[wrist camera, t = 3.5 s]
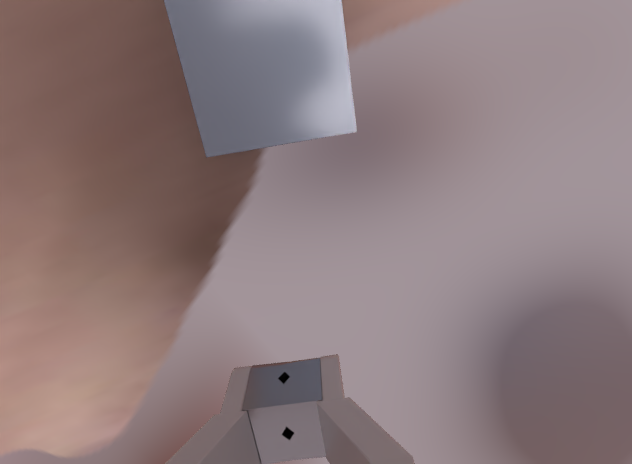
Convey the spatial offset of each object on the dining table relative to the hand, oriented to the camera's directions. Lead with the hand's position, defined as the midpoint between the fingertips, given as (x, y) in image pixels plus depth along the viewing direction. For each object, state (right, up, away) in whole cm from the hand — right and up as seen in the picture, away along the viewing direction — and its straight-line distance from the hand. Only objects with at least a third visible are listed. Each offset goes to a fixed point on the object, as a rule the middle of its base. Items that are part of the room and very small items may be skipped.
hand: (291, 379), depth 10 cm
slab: (-2, +14, +9) cm, 17 cm away
